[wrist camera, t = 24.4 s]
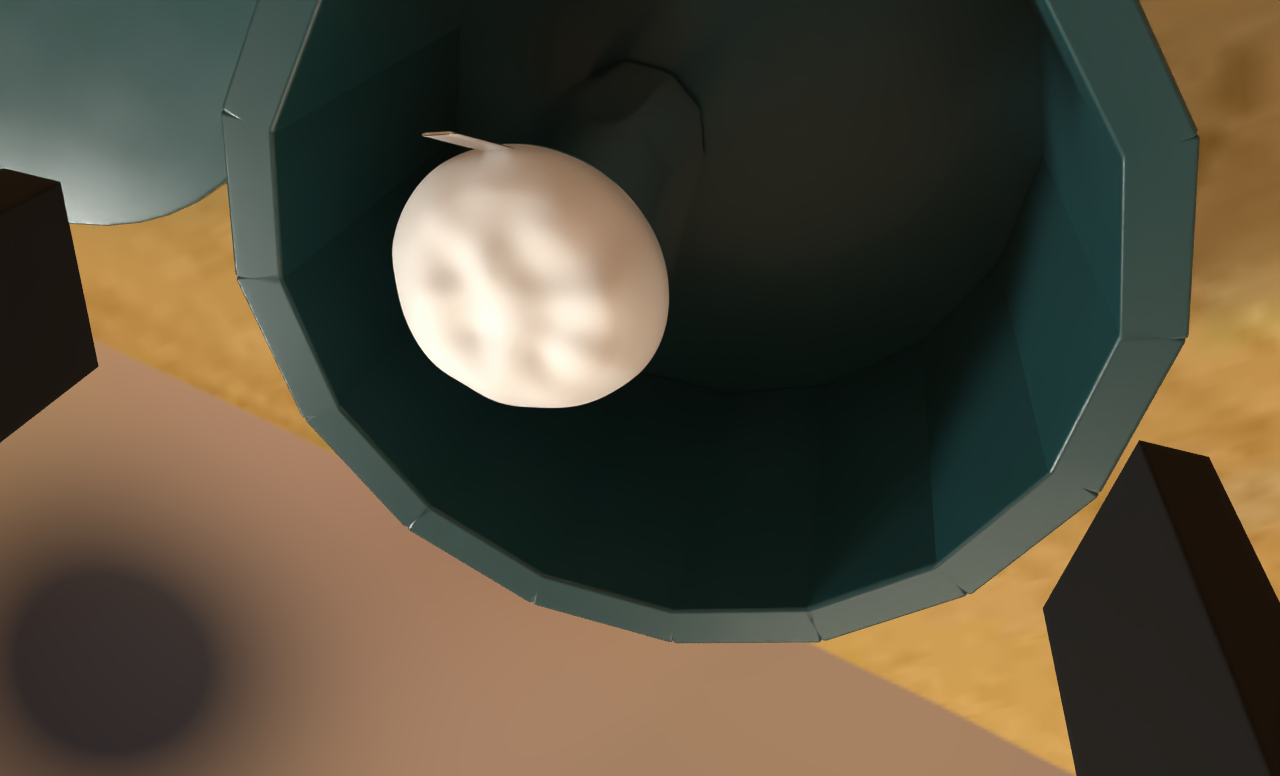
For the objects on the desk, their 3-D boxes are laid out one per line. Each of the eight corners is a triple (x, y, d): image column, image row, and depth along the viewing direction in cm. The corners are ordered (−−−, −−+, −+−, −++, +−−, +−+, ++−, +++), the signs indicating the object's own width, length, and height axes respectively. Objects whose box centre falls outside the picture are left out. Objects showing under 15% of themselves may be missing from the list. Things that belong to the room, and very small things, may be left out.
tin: (441, -313, 18) (172, -371, 11) (1220, -167, 17) (1453, -131, 10) (421, 333, 27) (257, 529, 20) (946, 466, 25) (970, 727, 18)
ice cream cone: (725, -20, 20) (611, 122, 11) (740, 223, 22) (657, 479, 14) (518, -2, 21) (279, 140, 13) (557, 228, 24) (380, 469, 15)
